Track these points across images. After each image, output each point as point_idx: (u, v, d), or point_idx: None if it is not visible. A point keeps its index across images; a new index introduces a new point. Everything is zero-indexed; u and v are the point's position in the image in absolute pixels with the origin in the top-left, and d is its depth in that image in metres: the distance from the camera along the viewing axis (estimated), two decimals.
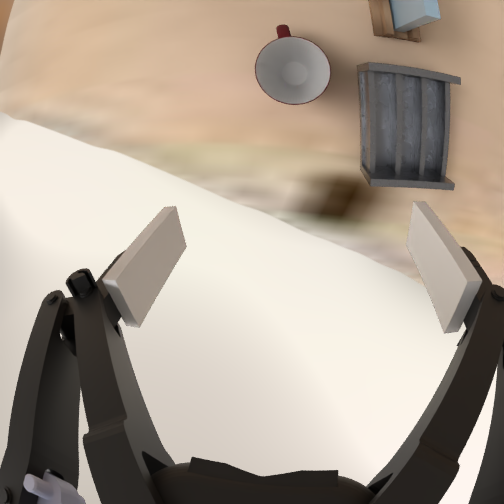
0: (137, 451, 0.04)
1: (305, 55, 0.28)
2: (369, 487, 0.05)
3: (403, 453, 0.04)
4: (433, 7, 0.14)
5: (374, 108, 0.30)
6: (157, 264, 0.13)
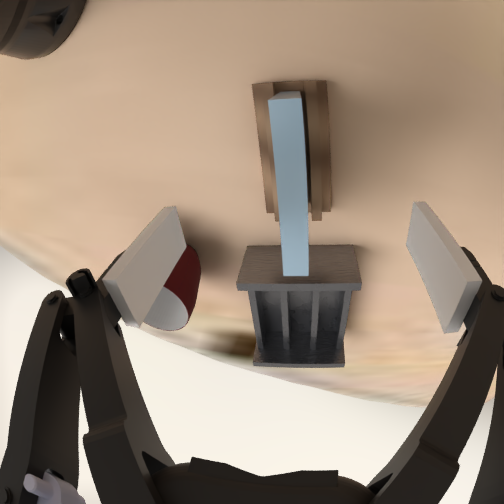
0: (137, 451, 0.04)
1: None
2: (369, 487, 0.05)
3: (403, 453, 0.04)
4: (297, 262, 0.19)
5: (255, 306, 0.35)
6: (157, 264, 0.13)
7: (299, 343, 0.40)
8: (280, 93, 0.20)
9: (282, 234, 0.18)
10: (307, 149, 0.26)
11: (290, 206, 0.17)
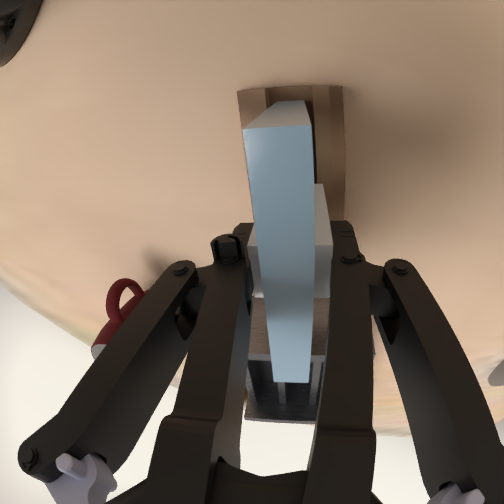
0: (214, 458, 0.04)
1: None
2: None
3: (313, 440, 0.05)
4: (294, 370, 0.13)
5: None
6: None
7: (297, 396, 0.33)
8: (275, 105, 0.13)
9: (272, 342, 0.12)
10: None
11: (285, 310, 0.10)
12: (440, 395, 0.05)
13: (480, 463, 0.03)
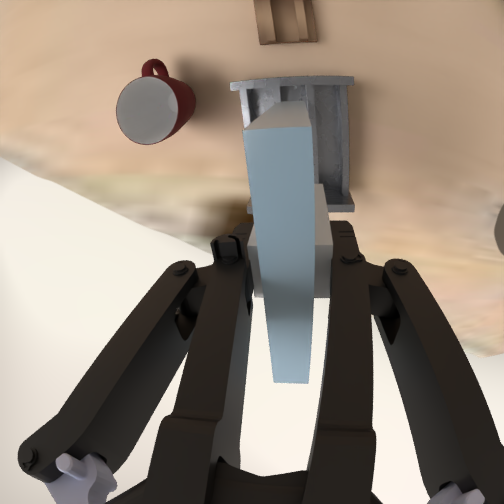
0: (214, 458, 0.04)
1: None
2: None
3: (314, 440, 0.05)
4: (294, 371, 0.13)
5: None
6: None
7: None
8: (275, 106, 0.13)
9: (272, 343, 0.12)
10: None
11: (285, 312, 0.10)
12: (440, 396, 0.05)
13: (480, 463, 0.03)
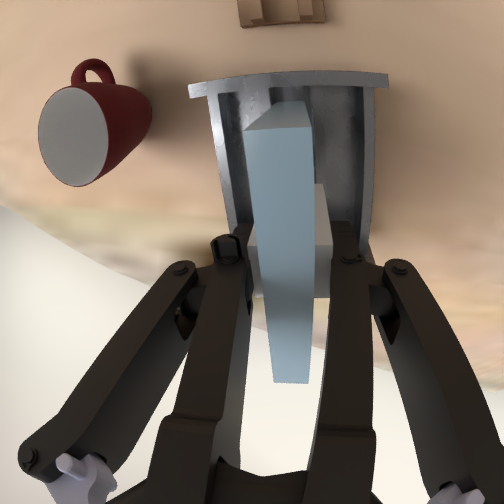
0: (214, 458, 0.04)
1: None
2: None
3: (313, 440, 0.05)
4: (294, 371, 0.13)
5: (224, 155, 0.21)
6: None
7: None
8: (275, 106, 0.13)
9: (272, 343, 0.12)
10: None
11: (285, 312, 0.10)
12: (441, 396, 0.05)
13: (481, 463, 0.03)
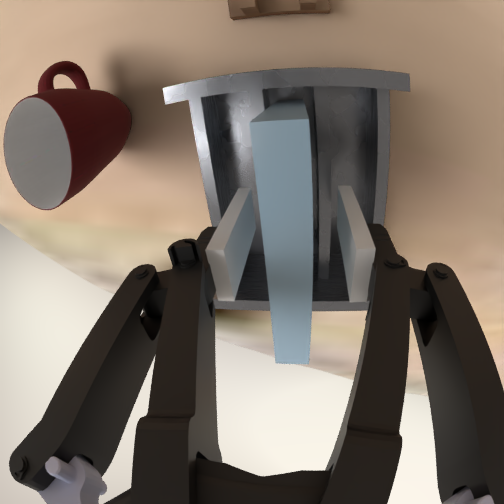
0: (192, 453, 0.05)
1: None
2: None
3: (339, 440, 0.05)
4: (295, 350, 0.14)
5: (210, 171, 0.18)
6: (243, 240, 0.14)
7: None
8: (276, 103, 0.14)
9: (274, 321, 0.13)
10: None
11: (286, 289, 0.11)
12: (467, 398, 0.04)
13: (496, 469, 0.03)
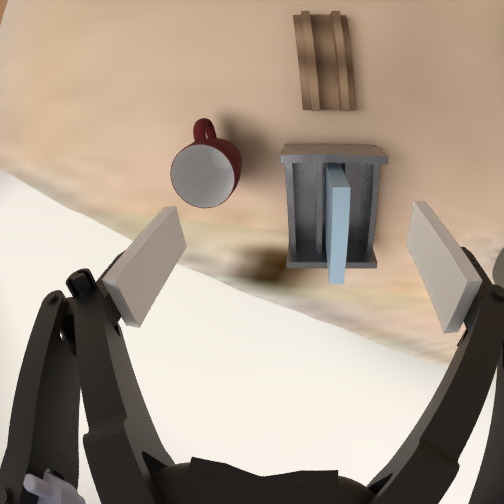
0: (137, 451, 0.04)
1: None
2: (369, 487, 0.05)
3: (403, 453, 0.04)
4: (338, 275, 0.32)
5: (292, 195, 0.37)
6: (157, 264, 0.13)
7: None
8: (328, 166, 0.33)
9: (331, 259, 0.31)
10: (334, 60, 0.29)
11: (337, 244, 0.30)
12: None
13: None
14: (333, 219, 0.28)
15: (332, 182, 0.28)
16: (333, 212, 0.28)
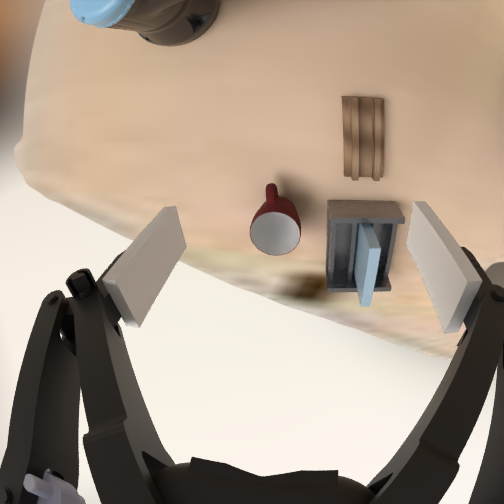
0: (137, 451, 0.04)
1: None
2: (369, 487, 0.05)
3: (403, 453, 0.04)
4: (367, 301, 0.45)
5: (334, 241, 0.49)
6: (157, 264, 0.13)
7: None
8: (362, 223, 0.46)
9: (363, 291, 0.44)
10: (371, 138, 0.41)
11: (369, 282, 0.43)
12: None
13: None
14: (367, 267, 0.41)
15: (368, 243, 0.40)
16: (368, 263, 0.41)
